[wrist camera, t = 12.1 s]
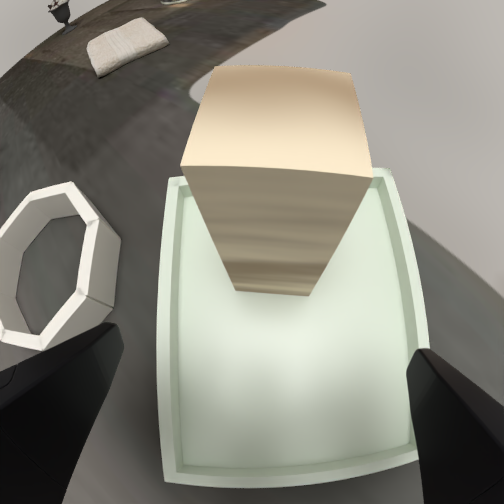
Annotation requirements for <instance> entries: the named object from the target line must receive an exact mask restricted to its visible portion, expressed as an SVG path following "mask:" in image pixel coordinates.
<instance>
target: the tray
mask: <svg viewBox="0 0 504 504" xmlns="http://www.w3.org/2000/svg"><path fill="white" fill-rule="evenodd" d="M372 171H373V177H374V178H373V180H372V182H371V184H370V186H369V188H368V190H367V192H366V194H365V196H364V198H363V200H362V202H361V204H360V206H359V208H358V210H357V212H356V214H355V215H354V217H353V219H352V221H351V223H350V225H349V227H348V229H347V230H346V232H345V234H344V236H343V238H342V240H341V241H340V243H339V245H338V247H337V249H336V250H335V252H334V254H333V256H332V258H331V259H330V261H329V263H328V265H327V266H326V268H325V270H324V272H323V273H322V275H321V277H320V278H319V280H318V282H317V283H316V285H315V287H314V289H313V290H312V292H311V294H310V295H309V296H296V295H282V294H269V293H257V292H245V291H235V289H234V286H233V284H232V282H231V280H230V278H229V276H228V273H227V271H226V269H225V267H224V265H223V263H222V260H221V258H220V256H219V254H218V251H217V249H216V247H215V245H214V243H213V240H212V238H211V236H210V234H209V231H208V229H207V227H206V225H205V222H204V220H203V218H202V215H201V213H200V211H199V209H198V206H197V204H196V202H195V199H194V197H193V195H192V192H191V190H190V188H189V185H188V183H187V181H186V178H185V176H181V177H172V178H169V182H168V189H167V197H166V205H165V213H164V223H163V232H162V243H161V255H160V268H159V284H158V305H157V396H158V416H159V431H160V443H161V454H162V463H163V472H164V480H165V482H172V483H179V484H187V485H196V486H208V487H224V488H272V487H288V486H300V485H309V484H317V483H324V482H331V481H337V480H342V479H348V478H353V477H358V476H362V475H367V474H371V473H375V472H379V471H383V470H386V469H390V468H393V467H397V466H400V465H403V464H406V463H409V462H412V461H415V460H418V459H419V458H418V452H417V446H416V440H415V435H414V429H413V424H412V419H411V412H410V403H409V394H408V386H407V379H406V370H407V367H408V365H409V363H410V360H411V358H412V356H413V354H414V352H415V351H416V350H417V349H419V348H429V349H430V347H429V337H428V328H427V320H426V312H425V306H424V299H423V293H422V287H421V282H420V277H419V272H418V267H417V262H416V257H415V253H414V249H413V244H412V240H411V236H410V232H409V228H408V225H407V221H406V217H405V214H404V211H403V207H402V204H401V200H400V197H399V194H398V191H397V188H396V185H395V182H394V179H393V176H392V173H391V170H390V168H372Z"/></svg>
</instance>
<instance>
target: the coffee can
mask: <svg viewBox="0 0 504 504" xmlns="http://www.w3.org/2000/svg"><path fill="white" fill-rule="evenodd" d="M185 1H189V0H161V3H162V4H165V5H168V4H176V3H181V2H185Z"/></svg>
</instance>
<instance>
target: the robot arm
mask: <svg viewBox="0 0 504 504" xmlns="http://www.w3.org/2000/svg"><path fill="white" fill-rule="evenodd" d="M123 350H124V343H123V340H122V336H121V333H120V329H119V326H118V325H117V324H115V323H111V322H104V323H102V324H100V325H97V326H95V327H93V328H91V329H89V330H87V331H85V332H83V333H81V334H79V335H77V336H74V337H72V338H70V339H68V340H66V341H64V342H62V343H60V344H58V345H56V346H54V347H51V348H49V349H47V350H45V351H43V352H41V353H39V354H37V355H35V356H33V357H30V358H28V359H26V360H24V361H22V362H20V363H18V365H17V364H16V365H14V366H12V367H10V368H7V369H5V370H3V371H1V372H0V504H62V501H63V499H64V496H65V493H66V489H67V487H68V484H69V482H70V479H71V477H72V474H73V471H74V469H75V466H76V464H77V461H78V459H79V457H80V454H81V452H82V449H83V447H84V445H85V442H86V440H87V438H88V435H89V433H90V431H91V428H92V426H93V424H94V422H95V420H96V417H97V415H98V413H99V411H100V409H101V406H102V404H103V402H104V400H105V398H106V396H107V394H108V391H109V389H110V386H111V384H112V381H113V378H114V375H115V372H116V370H117V367H118V364H119V361H120V359H121V356H122V353H123ZM406 379H407V386H408V394H409V403H410V412H411V419H412V424H413V429H414V435H415V440H416V446H417V452H418V458H419V465H420V472H421V479H422V488H423V498H424V504H504V406H502V405H501V404H500V403H499V402H497V401H496V400H495V399H494V398H492V397H491V396H490V395H489V394H487V393H486V392H485V391H484V390H482V389H481V388H480V387H479V386H477V385H476V384H475V383H473V382H472V381H471V380H470V379H468V378H467V377H466V376H465V375H463V374H462V373H461V372H459V371H458V370H457V369H455V368H454V367H453V366H452V365H450V364H449V363H448V362H446V361H445V360H444V359H442V358H441V357H440V356H438V355H437V354H436V353H435V352H433V351H432V350H431V349H429V348H419V349H417V350H416V351H415V352H414V354H413V356H412V358H411V360H410V363H409V365H408V367H407V370H406Z"/></svg>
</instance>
